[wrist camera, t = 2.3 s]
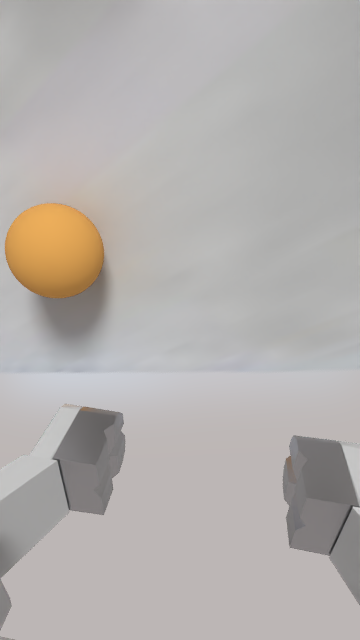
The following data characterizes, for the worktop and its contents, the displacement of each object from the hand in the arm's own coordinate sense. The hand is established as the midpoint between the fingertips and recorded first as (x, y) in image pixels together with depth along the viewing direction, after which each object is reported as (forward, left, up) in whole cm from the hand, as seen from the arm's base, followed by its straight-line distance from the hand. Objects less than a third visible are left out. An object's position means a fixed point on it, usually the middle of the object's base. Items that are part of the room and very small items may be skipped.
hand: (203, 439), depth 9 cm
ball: (-9, -5, -12) cm, 16 cm away
